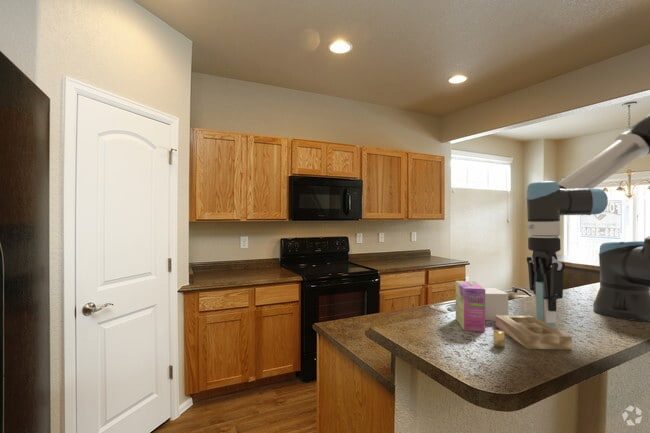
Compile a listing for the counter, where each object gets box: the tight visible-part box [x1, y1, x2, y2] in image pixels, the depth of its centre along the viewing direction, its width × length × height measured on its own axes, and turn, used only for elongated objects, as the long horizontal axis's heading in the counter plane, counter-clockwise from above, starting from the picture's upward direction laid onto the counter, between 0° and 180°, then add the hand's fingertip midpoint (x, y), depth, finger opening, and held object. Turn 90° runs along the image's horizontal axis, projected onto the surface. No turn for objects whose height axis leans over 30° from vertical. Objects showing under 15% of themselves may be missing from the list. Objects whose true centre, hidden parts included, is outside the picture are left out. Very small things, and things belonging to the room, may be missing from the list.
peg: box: [535, 282, 557, 329], centre depth 89 cm, size 3×3×12 cm
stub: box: [493, 329, 506, 349], centre depth 76 cm, size 2×2×4 cm
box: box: [455, 280, 486, 333], centre depth 92 cm, size 10×6×12 cm, turn 169°
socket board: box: [494, 315, 573, 350], centre depth 82 cm, size 10×16×3 cm, turn 176°
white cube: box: [483, 287, 510, 321], centre depth 99 cm, size 8×8×8 cm
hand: (545, 319), depth 89 cm, fingers closed on peg, 3 cm apart
